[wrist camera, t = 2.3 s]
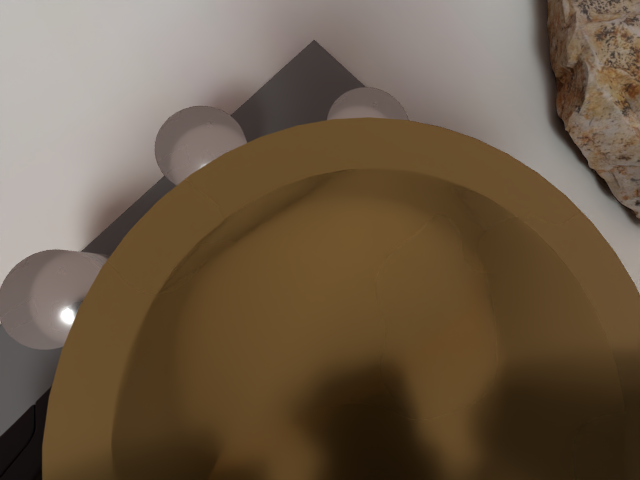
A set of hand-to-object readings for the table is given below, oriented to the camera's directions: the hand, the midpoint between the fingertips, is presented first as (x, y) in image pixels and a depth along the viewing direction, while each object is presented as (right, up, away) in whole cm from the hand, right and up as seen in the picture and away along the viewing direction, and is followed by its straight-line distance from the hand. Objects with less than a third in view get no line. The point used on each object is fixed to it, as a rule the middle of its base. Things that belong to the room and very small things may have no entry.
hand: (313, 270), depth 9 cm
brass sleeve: (0, -2, +6) cm, 6 cm away
